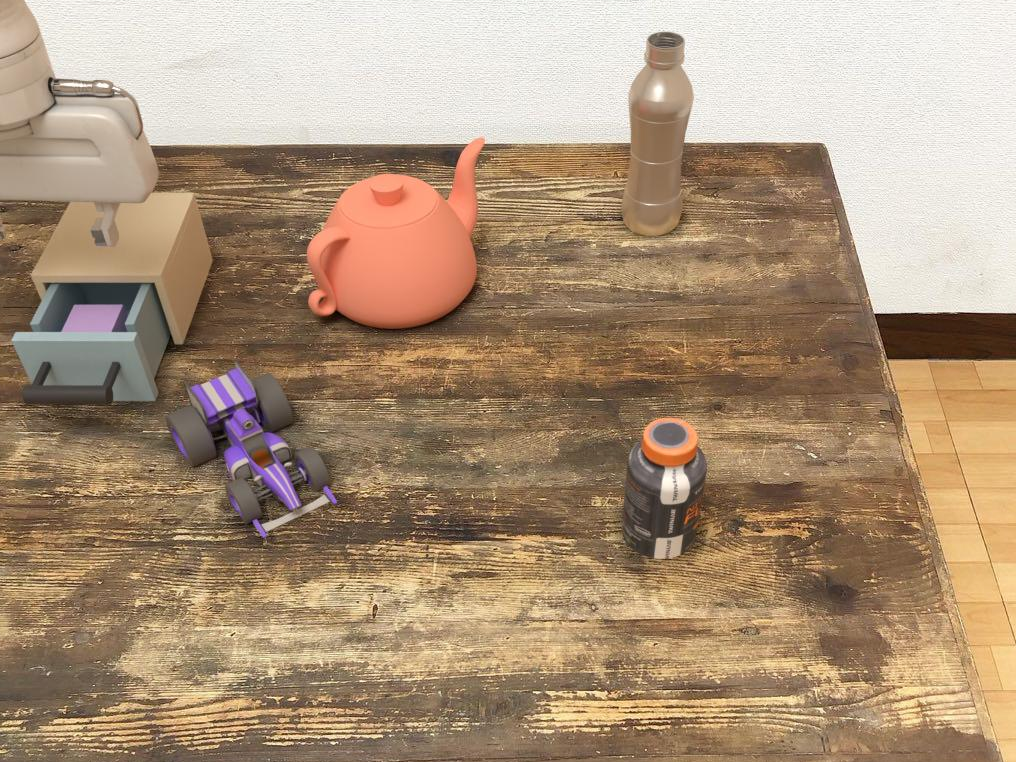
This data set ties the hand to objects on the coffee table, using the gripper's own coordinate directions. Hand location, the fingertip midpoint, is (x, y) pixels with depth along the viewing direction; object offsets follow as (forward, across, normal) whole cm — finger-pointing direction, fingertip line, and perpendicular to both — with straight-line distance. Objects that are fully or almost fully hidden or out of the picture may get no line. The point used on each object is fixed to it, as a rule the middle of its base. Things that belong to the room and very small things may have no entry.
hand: (51, 241), depth 89 cm
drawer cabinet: (+14, -1, -10) cm, 17 cm away
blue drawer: (+13, -1, +1) cm, 13 cm away
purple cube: (+12, -1, +1) cm, 12 cm away
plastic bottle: (+13, -52, -24) cm, 59 cm away
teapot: (+14, -27, -13) cm, 33 cm away
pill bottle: (+13, -51, +20) cm, 56 cm away
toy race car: (+14, -18, +13) cm, 26 cm away
